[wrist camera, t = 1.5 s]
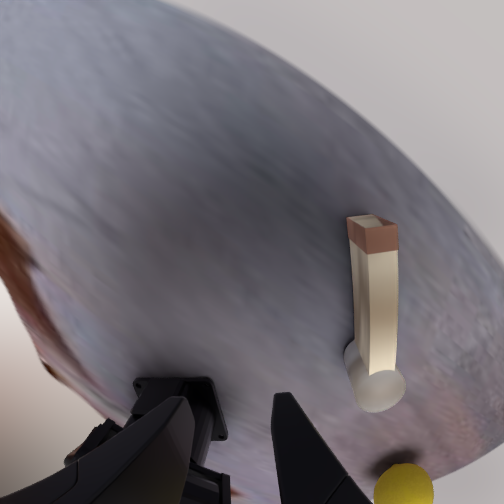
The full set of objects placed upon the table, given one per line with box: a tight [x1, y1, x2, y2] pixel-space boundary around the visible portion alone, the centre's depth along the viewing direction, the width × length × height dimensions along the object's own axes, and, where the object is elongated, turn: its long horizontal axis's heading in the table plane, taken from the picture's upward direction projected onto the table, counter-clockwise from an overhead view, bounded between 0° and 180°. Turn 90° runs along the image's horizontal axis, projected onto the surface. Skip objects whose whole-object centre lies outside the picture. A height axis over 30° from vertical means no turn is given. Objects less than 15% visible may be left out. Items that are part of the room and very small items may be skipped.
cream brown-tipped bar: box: [343, 214, 406, 412], centre depth 16 cm, size 11×3×4 cm, turn 9°
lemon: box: [374, 463, 434, 504], centre depth 19 cm, size 6×6×8 cm
